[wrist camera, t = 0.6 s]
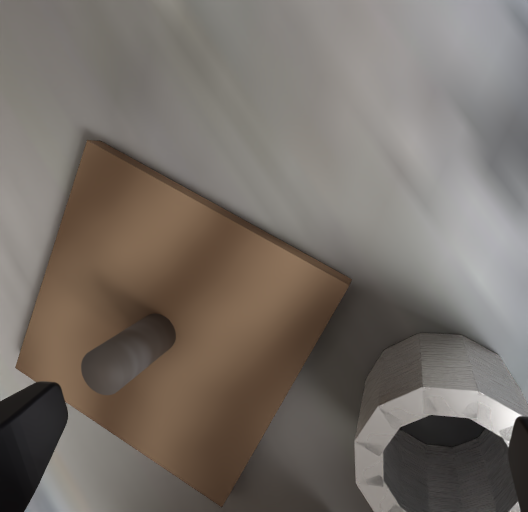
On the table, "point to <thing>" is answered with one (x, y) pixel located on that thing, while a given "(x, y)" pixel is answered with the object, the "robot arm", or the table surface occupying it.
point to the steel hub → (443, 404)
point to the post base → (173, 319)
